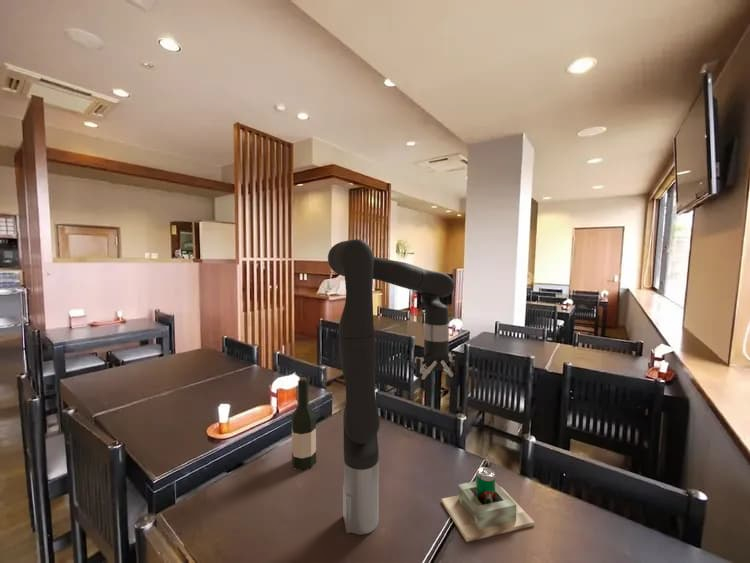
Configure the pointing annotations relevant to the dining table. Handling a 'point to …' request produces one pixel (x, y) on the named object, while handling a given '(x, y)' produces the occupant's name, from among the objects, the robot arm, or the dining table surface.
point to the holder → (485, 513)
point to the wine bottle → (303, 430)
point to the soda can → (485, 485)
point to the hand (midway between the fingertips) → (435, 388)
